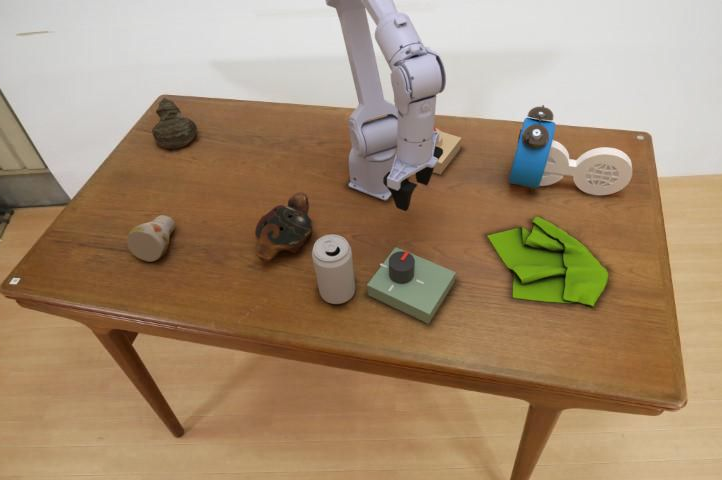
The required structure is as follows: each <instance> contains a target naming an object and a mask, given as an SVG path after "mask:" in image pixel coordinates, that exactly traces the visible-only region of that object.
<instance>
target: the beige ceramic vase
mask: <svg viewBox="0 0 722 480" xmlns="http://www.w3.org/2000/svg"><path fill="white" fill-rule="evenodd" d="M175 228H176V225H175V222H174V220H173V219H172V218H171V217H169V216H167V215H163V214H162V215H158V216H156V217H155V218H154V219H153V220H152V221H149V222H148V221H147V222H143V223H141V224H138V225H136V226H134V227H133V228H132V229H131V230H130V231H129V233H128V234H127V235H126V236H127V237H126V240H125V241H126V246H127V248H128V250H129V251H130V253H131V254H132V255H134V257H136V258H137V259H140V260H143V261H144V262H156V261H158V260H159V259H161V258H162V257H164V255H165V254H166V252H167V251H168V248H169V244H170V236H171V234H172V233H173V231H174V230H175Z"/></svg>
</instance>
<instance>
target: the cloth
mask: <svg viewBox="0 0 722 480" xmlns="http://www.w3.org/2000/svg"><path fill="white" fill-rule="evenodd" d="M531 223H532V224H534V225H533V227H532V229H531V231H529V230H528V229H526V228H525V227H524V226H518V227H517V228H512V229H508V230H505V231H500V232H496V233H492V234H488V235H486V237H487V239H488V240H489V242H490V244H491V245H492V246H493V248H494V250H495V251H496V253H497V254H498V256H499V257H500V259H501V260H502V262H503V263H504V265H505V266H506V268H507V269H509V270H512V271H513V280H512V281H513V282H512V299H519V300H527V301H536V302H545V303H556V304H567V305H568V304H569V305H571V304H572V303H580V304H583V305H588V306H591V307H595V305H596V303H597V301H598V300H599V298H600V296H601V295H602V294H603V292H604V290H605V288H606V286H607V284H608V281H609V277H610V273H609V271H608V269H607V268H606V267H604V266H602V264H601V263H600V261H599V260H598V259H597V258H596V257H594V255H593V254H592V253H591V252H590V251H589V249H588V248H587V246H585V245H584V244H583V243H581V242H580V241H579V240H578V239H577V238H575V237H573V236H571V235H569V233H568V232H566V231H565V230H563V229H562V228H560V227H557V226H556V225H555V224H554V223H552V222H550V221H547V220H545V219H544V218H541V217H539V216H535V217H534V218H533V220H532V221H531Z"/></svg>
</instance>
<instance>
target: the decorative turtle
mask: <svg viewBox="0 0 722 480" xmlns="http://www.w3.org/2000/svg"><path fill="white" fill-rule="evenodd" d="M309 208H310V201H309V197H308V195H307V194H306V193H305V192H301V191H300V192H297V193H294V194H292V195H290V197H289V199H288V201H287V205H283V204H280V205H276V206H274V207H272V208H270V209H269V210H268V211H267V212H265V213H264V214H263V215H262V216H261V217H260V219H259V220H258V222H257V224H256V227H255V230H254V231H255V232H254V236H255V239H256V242H257V243H258V247H257V249H256V252H255V256H256V257H257V258H258V259H259V260H261V261H262V262H265V263H270V262H271V261H272V260H273V259H274V258H275V257H276V256H277V255H278V254H279V253H280V252H282V251H288V252H290V253H292V254H296V253H298V251H299V250H300V249H302V246H303V245H304V244H305V242H306V240H308V239H309V238H311V236H312V233H313V221H312V218H310V217H309Z"/></svg>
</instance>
